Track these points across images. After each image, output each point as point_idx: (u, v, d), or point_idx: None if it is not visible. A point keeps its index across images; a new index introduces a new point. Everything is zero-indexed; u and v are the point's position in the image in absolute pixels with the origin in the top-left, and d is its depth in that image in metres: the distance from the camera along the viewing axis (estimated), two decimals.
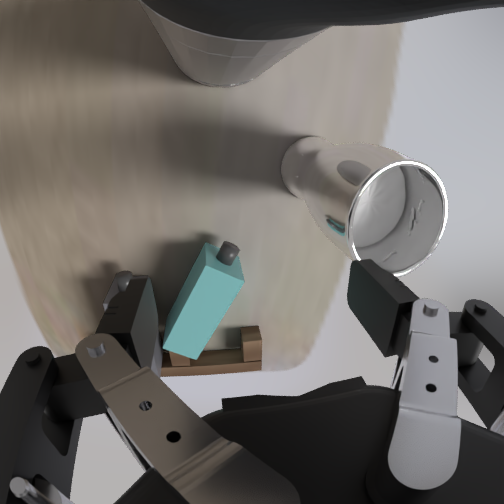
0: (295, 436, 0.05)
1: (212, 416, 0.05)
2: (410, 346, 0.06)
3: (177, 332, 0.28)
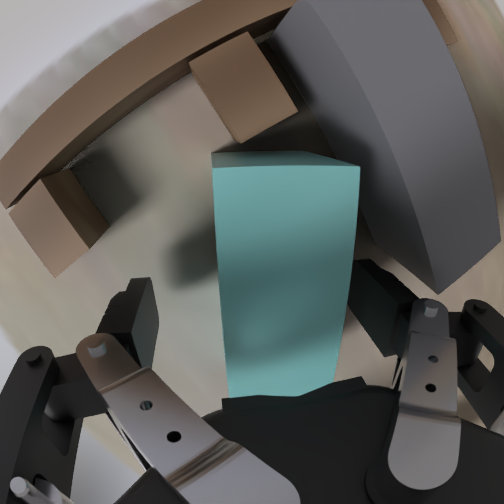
0: (295, 436, 0.05)
1: (212, 416, 0.05)
2: (410, 346, 0.06)
3: (333, 261, 0.08)
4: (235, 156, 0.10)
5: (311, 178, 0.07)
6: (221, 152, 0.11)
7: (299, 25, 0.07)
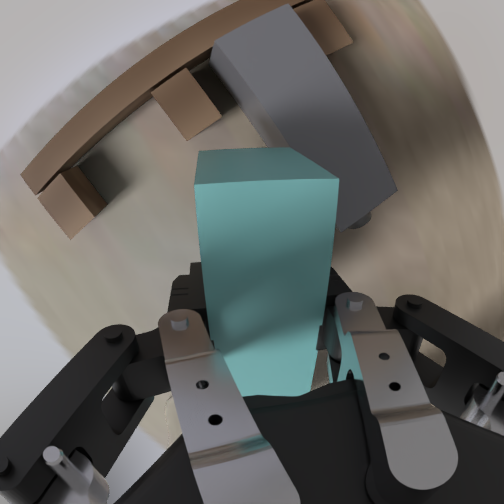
0: (295, 436, 0.05)
1: None
2: (355, 349, 0.06)
3: (311, 266, 0.09)
4: (220, 160, 0.10)
5: (290, 191, 0.08)
6: (208, 151, 0.11)
7: (219, 58, 0.11)
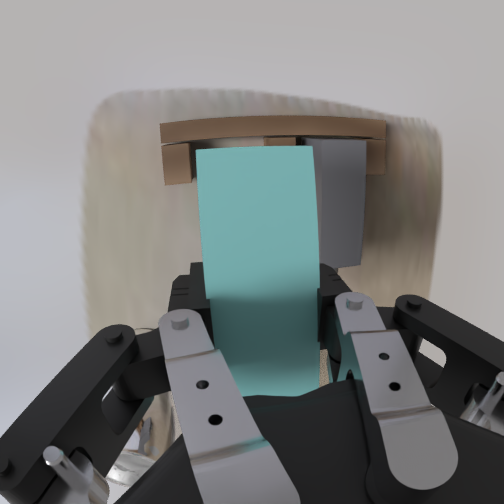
0: (295, 436, 0.05)
1: None
2: (355, 349, 0.06)
3: (299, 226, 0.10)
4: None
5: (272, 156, 0.09)
6: None
7: (315, 146, 0.22)
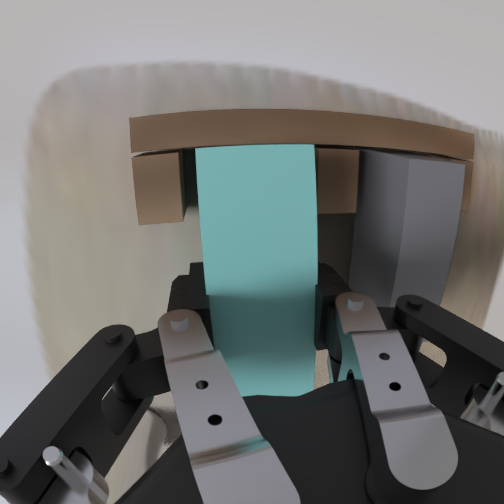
0: (295, 436, 0.05)
1: None
2: (355, 349, 0.06)
3: (299, 226, 0.10)
4: None
5: (273, 154, 0.09)
6: None
7: (391, 166, 0.13)
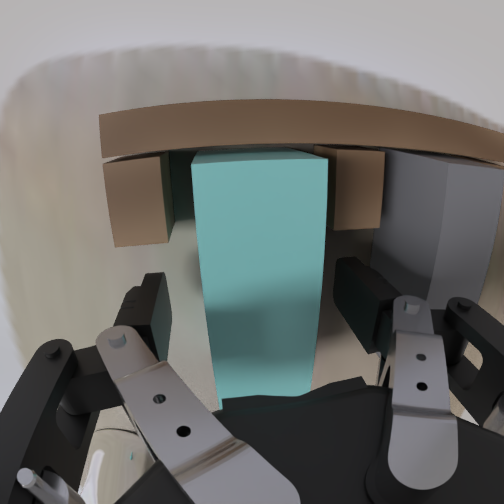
0: (295, 436, 0.05)
1: None
2: (396, 345, 0.06)
3: (305, 247, 0.09)
4: (217, 153, 0.10)
5: (281, 171, 0.08)
6: (206, 150, 0.12)
7: (424, 171, 0.10)
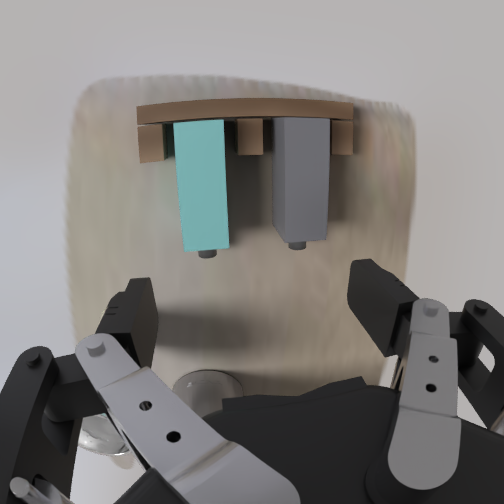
0: (295, 436, 0.05)
1: (212, 416, 0.05)
2: (410, 346, 0.06)
3: (216, 153, 0.22)
4: None
5: (205, 124, 0.21)
6: None
7: (280, 124, 0.23)
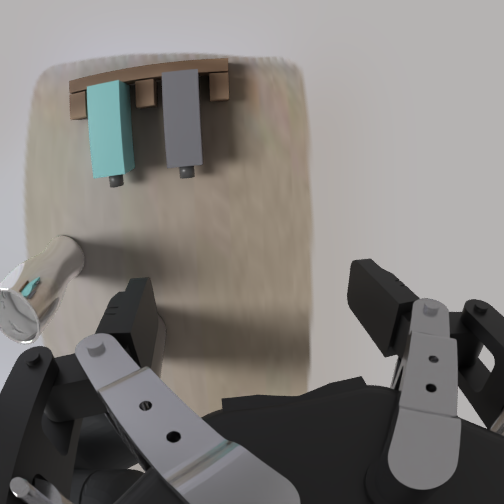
0: (295, 436, 0.05)
1: (212, 416, 0.05)
2: (410, 346, 0.06)
3: (114, 104, 0.26)
4: None
5: (107, 85, 0.26)
6: None
7: None
